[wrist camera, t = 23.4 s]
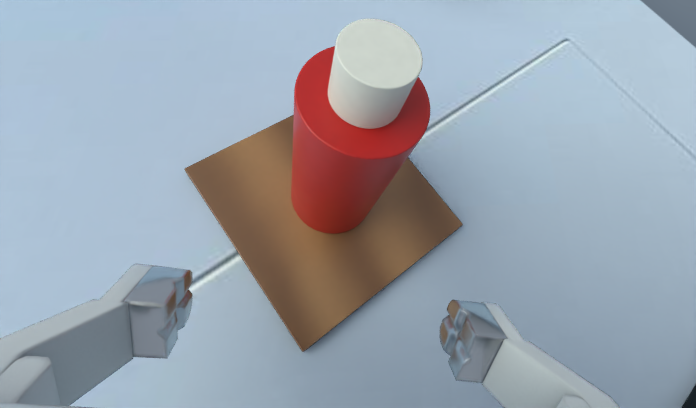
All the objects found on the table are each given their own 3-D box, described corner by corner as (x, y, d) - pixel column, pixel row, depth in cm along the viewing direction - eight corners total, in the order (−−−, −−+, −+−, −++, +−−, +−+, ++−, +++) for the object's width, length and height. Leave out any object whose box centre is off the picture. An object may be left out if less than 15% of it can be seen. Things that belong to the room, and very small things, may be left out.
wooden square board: (302, 351, 17) (302, 352, 16) (186, 172, 19) (183, 168, 18) (459, 226, 21) (463, 224, 20) (348, 91, 23) (349, 86, 23)
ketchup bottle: (360, 155, 21) (430, -8, 11) (379, 226, 19) (481, 114, 9) (285, 164, 20) (283, -10, 10) (298, 240, 18) (313, 130, 8)
